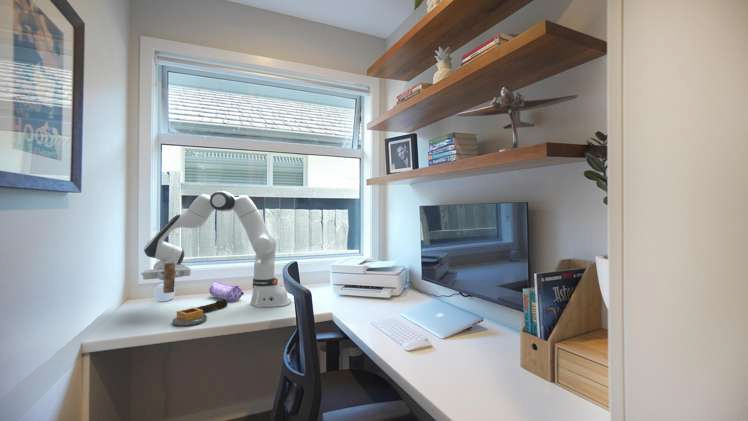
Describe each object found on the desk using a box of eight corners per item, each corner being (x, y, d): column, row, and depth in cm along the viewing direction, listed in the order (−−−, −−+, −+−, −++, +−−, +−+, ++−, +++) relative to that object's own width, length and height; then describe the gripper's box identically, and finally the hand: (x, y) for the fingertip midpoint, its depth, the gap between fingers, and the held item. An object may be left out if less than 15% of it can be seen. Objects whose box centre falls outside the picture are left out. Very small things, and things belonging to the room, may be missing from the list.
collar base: (197, 315, 161) (197, 305, 161) (212, 320, 154) (212, 310, 154) (166, 322, 150) (166, 311, 150) (181, 328, 142) (181, 317, 142)
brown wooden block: (172, 290, 161) (173, 262, 161) (174, 292, 158) (175, 263, 158) (163, 291, 159) (164, 262, 159) (164, 293, 156) (165, 263, 156)
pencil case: (243, 300, 191) (244, 284, 191) (229, 303, 183) (230, 287, 183) (221, 294, 202) (221, 279, 202) (206, 297, 194) (207, 282, 195)
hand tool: (195, 316, 160) (195, 307, 160) (190, 315, 162) (191, 305, 162) (230, 307, 176) (230, 299, 176) (225, 306, 178) (225, 298, 178)
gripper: (141, 267, 162) (143, 271, 151) (187, 263, 175) (193, 267, 164) (140, 279, 162) (143, 284, 151) (187, 275, 175) (192, 279, 164)
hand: (169, 275), depth 158 cm, fingers closed on brown wooden block, 4 cm apart
